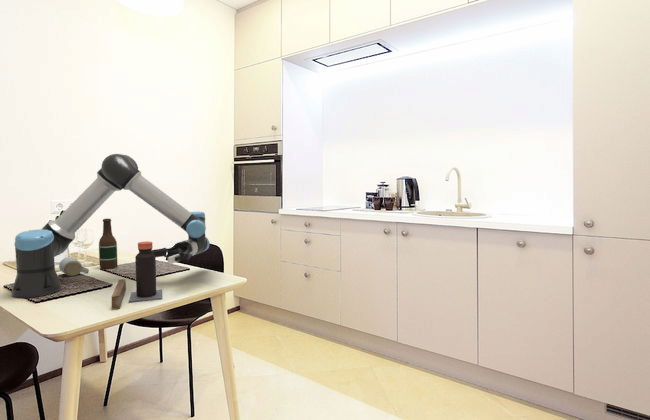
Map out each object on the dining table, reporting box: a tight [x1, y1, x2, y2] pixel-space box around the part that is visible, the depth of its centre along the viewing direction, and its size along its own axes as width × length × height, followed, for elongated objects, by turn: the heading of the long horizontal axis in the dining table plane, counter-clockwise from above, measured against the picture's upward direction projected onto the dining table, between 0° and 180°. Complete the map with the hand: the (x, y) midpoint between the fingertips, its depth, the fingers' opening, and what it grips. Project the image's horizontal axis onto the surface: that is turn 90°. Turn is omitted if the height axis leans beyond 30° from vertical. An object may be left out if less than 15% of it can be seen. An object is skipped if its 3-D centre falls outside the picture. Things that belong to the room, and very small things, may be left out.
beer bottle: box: [98, 218, 118, 270], centre depth 184 cm, size 8×8×24 cm
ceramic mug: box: [58, 256, 90, 277], centre depth 173 cm, size 11×8×8 cm
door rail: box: [111, 278, 127, 310], centre depth 140 cm, size 2×22×4 cm, turn 23°
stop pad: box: [128, 289, 163, 304], centre depth 143 cm, size 11×11×1 cm
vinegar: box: [134, 240, 157, 297], centre depth 142 cm, size 7×7×20 cm
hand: (152, 259), depth 146 cm, fingers open, 13 cm apart
